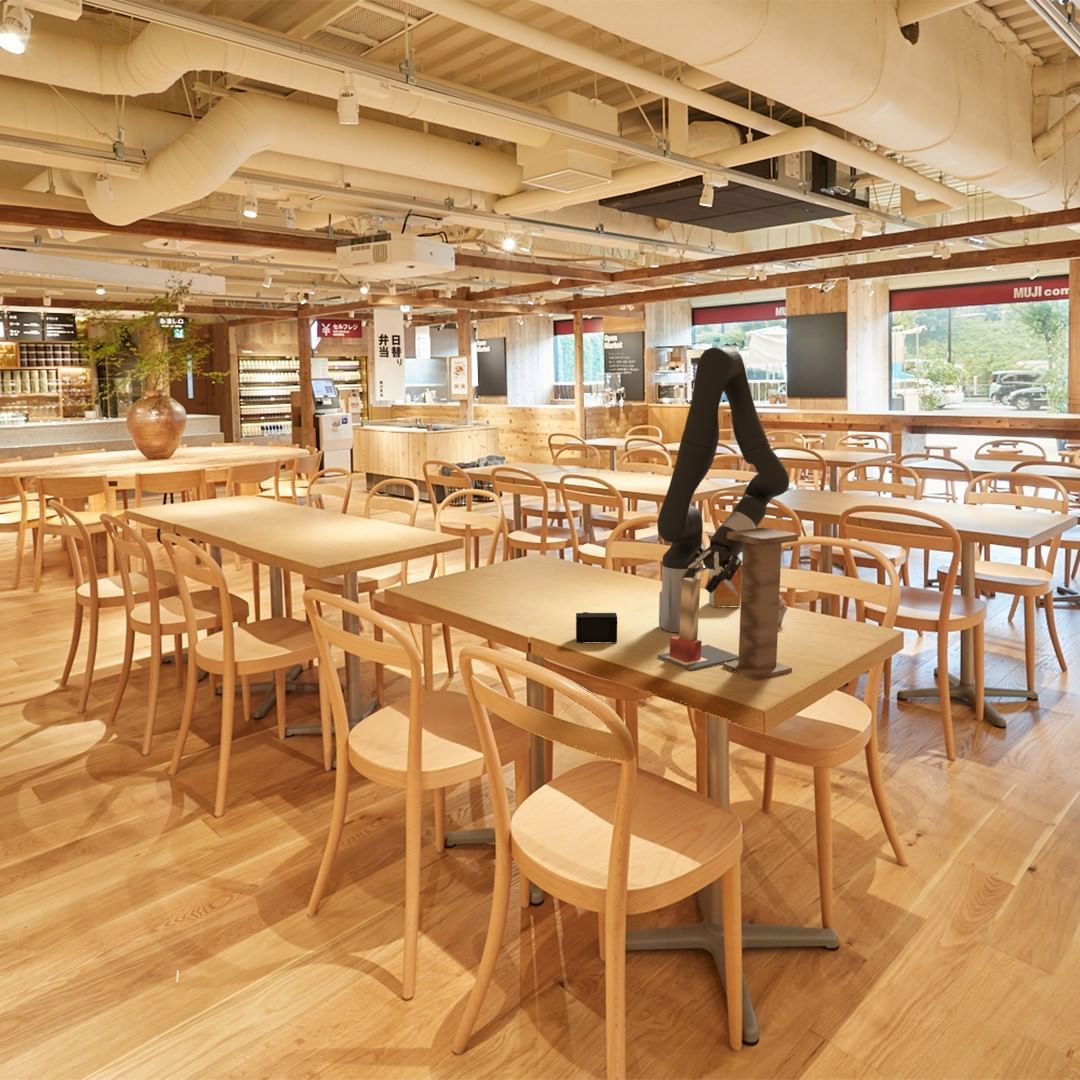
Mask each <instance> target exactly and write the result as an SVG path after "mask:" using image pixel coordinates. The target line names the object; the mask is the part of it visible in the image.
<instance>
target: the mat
mask: <svg viewBox="0 0 1080 1080" xmlns="http://www.w3.org/2000/svg"><path fill="white" fill-rule="evenodd" d="M669 653H670V652H667V653H666V652H665V653H661V654H657V658H658V657H659V658H658V659H660V658H662V659H661V660H663V659H664V660H663V661H665V660H667V661H669V662H668V663H670V662H672V663H674V664H673V665H675V664H676V666H677V665H678V666H677V667H680V668H682V667H683V668H682V669H685V670H688V671H691V672H692V671H698V670H702V669H706V668H709V666H710V667H714V666H713V665H715V666H718V665H717V664H719V665H722V664H721V663H725V662H730V661H734V660H739V654H738V655H737V654H735V653H731V652H729V651H726V650H723V649H721V648H718V647H716V646H713V645H710V644H704V645H701V659H700V660H694V661H689V662H685V661H682V660H680V659H677V658H675V657H672V656H669ZM667 661H666V662H667ZM672 663H671V664H672ZM705 667H706V668H705ZM701 668H702V669H701Z"/></svg>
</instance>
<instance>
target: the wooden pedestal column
mask: <svg viewBox="0 0 1080 1080" xmlns="http://www.w3.org/2000/svg"><path fill="white" fill-rule="evenodd" d="M727 539H732V540H737V541H742V542H743V549H742V552H741V554H742V557H741V561H742V563H741V564H742V578H741V599H740V607H739V608H740V609H739V610H740V611H739V613H740V614H739V636H738V637H739V639H738V640H739V641H738V656H739V660H735V661H730V662H726V663H723V664H722V668H723V667H725V668H724V669H726V668H727V670H728V669H731V670H732V671H731V670H730V671H731V672H734V671H736V672H738V673H737V674H739V673H741V674H740V675H742V674H743V675H742V676H744V675H745V677H747V678H749V677H750V679H752V678H753V680H755V679H756V680H755V681H760V679H761V680H764V679H763V678H765V679H768V678H773V677H778V676H781V675H780V674H782V675H785V673H786V674H789V673H788V672H790V673H792V672H793V667H791V666H790V665H789V666H788V665H785V664H783V663H780V662H777V660H778V659H777V657H778V656H777V655H778V639H779V638H778V637H779V635H778V633H779V626H778V615H779V595H780V588H781V569H782V568H781V566H782V548H783V547H782V544H786V543H792V542H799V534H798V533H793V532H788V531H782V530H778V529H773V528H772V529H771V528H766V527H757V528H755V529H747V530H739V531H731V532H727ZM736 672H735V673H736ZM772 676H773V677H772Z"/></svg>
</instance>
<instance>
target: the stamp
mask: <svg viewBox="0 0 1080 1080" xmlns="http://www.w3.org/2000/svg"><path fill="white" fill-rule="evenodd" d="M700 596H701V579H699V578H697V579H696V578H693V577H690V578H682V595H681V614H680V632H678V633H679V635H676V636H670V638H669V652H668V653H669V656H672V657H675V658H677V659H680V660H682V661H685V662H689V661H694V660H700V659H701V646H702V643H703V642H702V640H700V639H698V635H699V634H698V631H699V615H700V613H699V612H700V598H701V597H700Z"/></svg>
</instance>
